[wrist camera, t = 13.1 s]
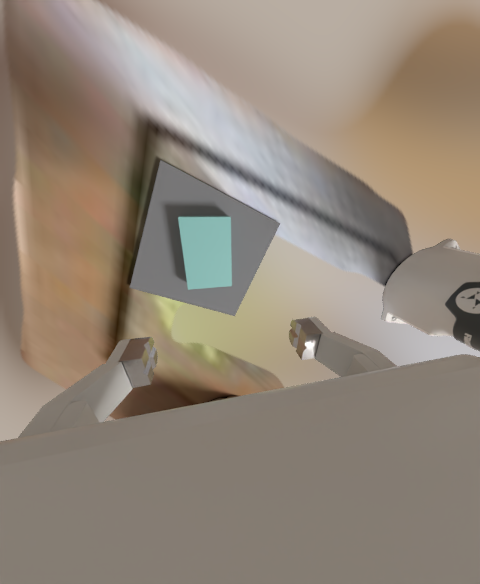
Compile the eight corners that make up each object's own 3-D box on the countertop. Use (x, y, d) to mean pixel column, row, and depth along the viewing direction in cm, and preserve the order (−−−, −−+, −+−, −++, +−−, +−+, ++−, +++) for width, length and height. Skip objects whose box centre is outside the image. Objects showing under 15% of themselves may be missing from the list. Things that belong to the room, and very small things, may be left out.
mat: (278, 223, 25) (280, 223, 25) (233, 314, 30) (234, 316, 30) (161, 161, 19) (160, 159, 19) (131, 285, 25) (129, 287, 24)
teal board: (231, 286, 25) (230, 216, 21) (187, 289, 24) (178, 217, 20) (229, 280, 27) (228, 215, 23) (188, 283, 26) (179, 216, 22)
